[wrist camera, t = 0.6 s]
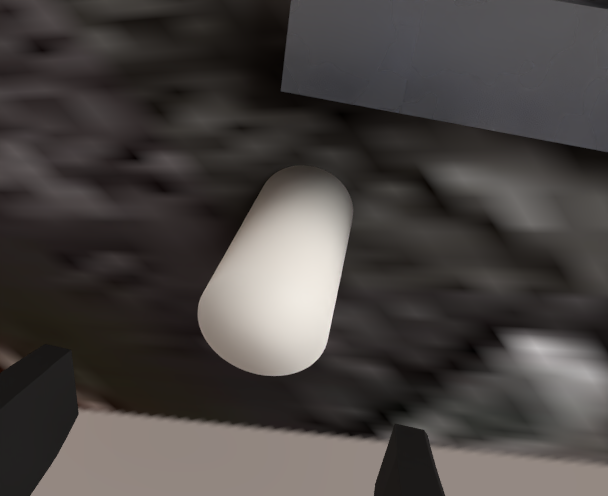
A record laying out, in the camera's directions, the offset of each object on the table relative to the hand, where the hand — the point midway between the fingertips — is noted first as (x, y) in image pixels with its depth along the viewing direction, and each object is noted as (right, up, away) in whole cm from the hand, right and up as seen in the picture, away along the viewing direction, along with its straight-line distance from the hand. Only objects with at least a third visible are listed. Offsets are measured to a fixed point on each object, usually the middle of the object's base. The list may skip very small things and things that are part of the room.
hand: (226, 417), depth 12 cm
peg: (+2, +5, +9) cm, 10 cm away
